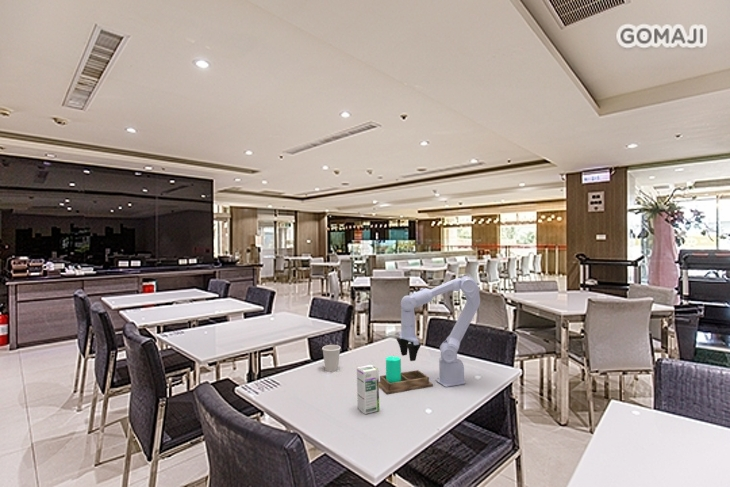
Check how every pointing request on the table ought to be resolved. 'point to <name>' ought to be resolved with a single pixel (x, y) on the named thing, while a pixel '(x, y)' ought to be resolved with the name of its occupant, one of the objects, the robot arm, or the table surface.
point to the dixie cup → (331, 357)
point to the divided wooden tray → (405, 382)
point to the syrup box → (368, 389)
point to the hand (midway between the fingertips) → (408, 357)
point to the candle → (393, 369)
